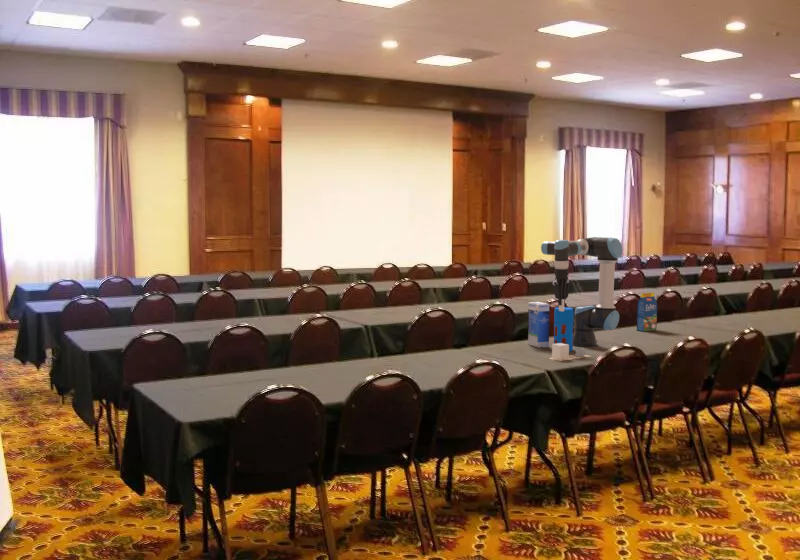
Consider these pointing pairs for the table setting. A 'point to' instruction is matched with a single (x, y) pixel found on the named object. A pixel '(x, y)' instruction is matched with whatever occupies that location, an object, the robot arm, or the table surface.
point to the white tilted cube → (560, 351)
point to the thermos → (563, 326)
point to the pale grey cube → (580, 352)
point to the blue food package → (647, 312)
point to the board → (572, 357)
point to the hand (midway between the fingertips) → (561, 310)
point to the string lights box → (538, 324)
